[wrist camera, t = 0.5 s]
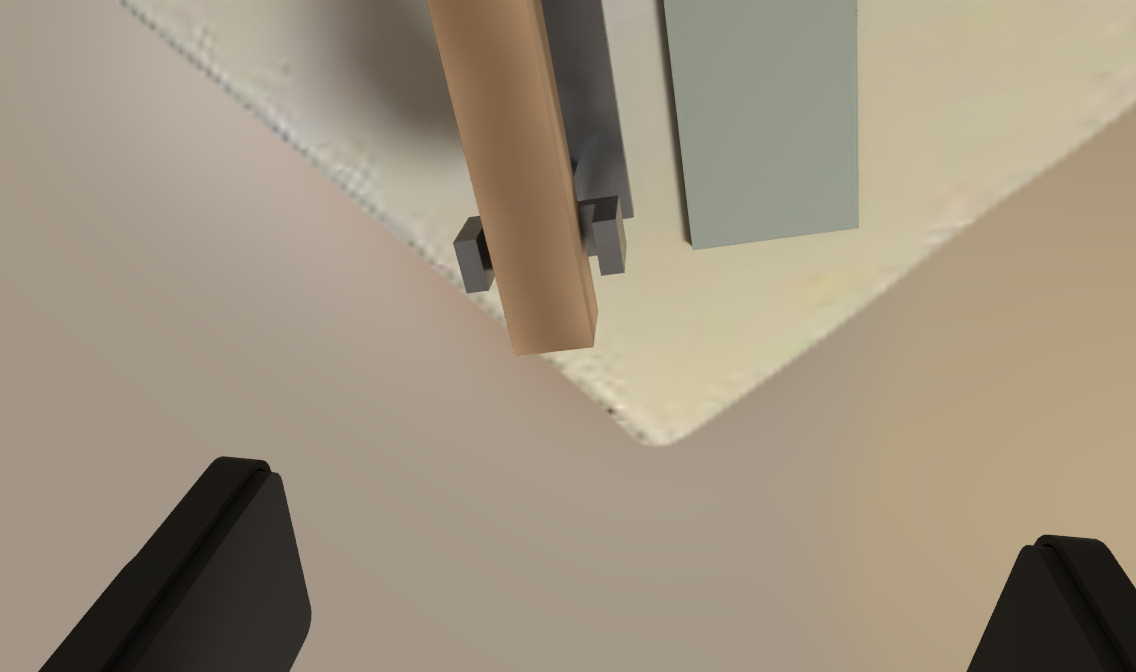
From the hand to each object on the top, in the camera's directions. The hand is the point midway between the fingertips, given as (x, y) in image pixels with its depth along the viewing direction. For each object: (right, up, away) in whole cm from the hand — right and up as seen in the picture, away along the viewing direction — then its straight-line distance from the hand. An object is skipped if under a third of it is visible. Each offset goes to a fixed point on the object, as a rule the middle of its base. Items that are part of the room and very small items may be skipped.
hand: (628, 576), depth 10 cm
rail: (-3, +14, +21) cm, 25 cm away
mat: (+8, +19, +27) cm, 34 cm away
